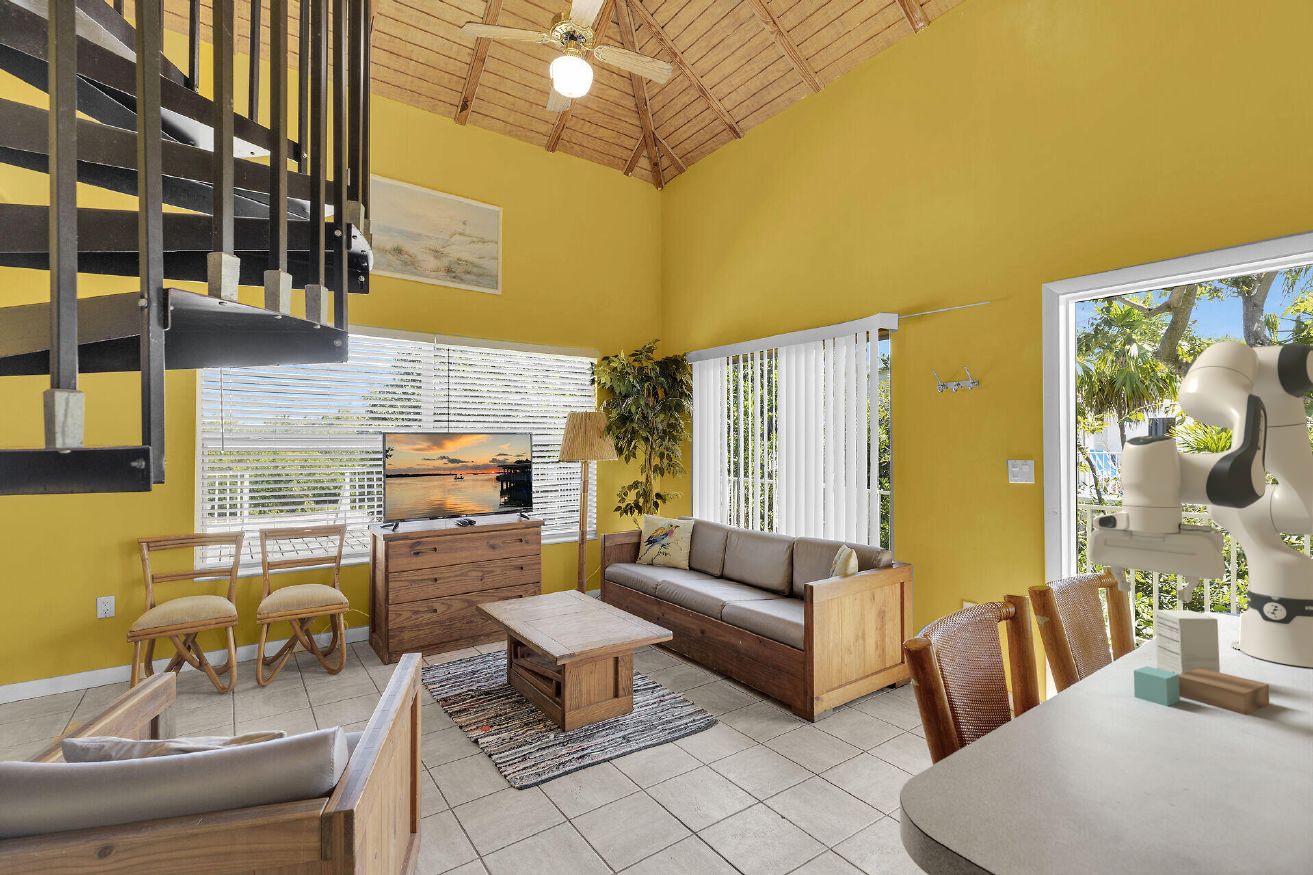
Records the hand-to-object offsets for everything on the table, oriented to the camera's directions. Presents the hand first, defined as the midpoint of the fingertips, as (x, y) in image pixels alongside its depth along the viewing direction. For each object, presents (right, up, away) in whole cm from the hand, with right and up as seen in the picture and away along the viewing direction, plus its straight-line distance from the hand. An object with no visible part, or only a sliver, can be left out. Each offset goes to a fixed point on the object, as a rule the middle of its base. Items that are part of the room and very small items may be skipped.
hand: (1153, 595), depth 115 cm
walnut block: (+12, -19, -1) cm, 23 cm away
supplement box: (+17, -20, +12) cm, 29 cm away
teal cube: (0, -19, -1) cm, 19 cm away
